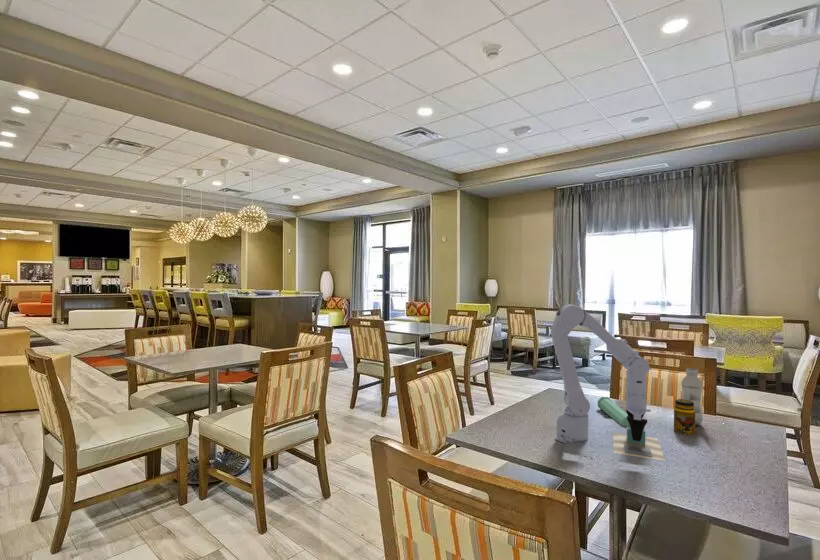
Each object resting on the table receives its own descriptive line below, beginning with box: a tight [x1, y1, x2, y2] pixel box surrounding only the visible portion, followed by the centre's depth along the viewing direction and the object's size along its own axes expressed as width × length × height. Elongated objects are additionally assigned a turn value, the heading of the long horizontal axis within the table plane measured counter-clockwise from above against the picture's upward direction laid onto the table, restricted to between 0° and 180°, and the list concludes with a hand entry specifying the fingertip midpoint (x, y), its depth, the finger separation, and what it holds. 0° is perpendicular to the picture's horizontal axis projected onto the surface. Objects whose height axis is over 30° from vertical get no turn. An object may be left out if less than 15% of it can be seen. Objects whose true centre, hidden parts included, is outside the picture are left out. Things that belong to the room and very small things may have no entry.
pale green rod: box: [597, 396, 630, 427], centre depth 161 cm, size 6×6×25 cm
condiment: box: [673, 398, 696, 436], centre depth 145 cm, size 7×8×12 cm
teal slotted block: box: [626, 424, 646, 444], centre depth 136 cm, size 5×5×4 cm
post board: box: [612, 431, 666, 462], centre depth 132 cm, size 19×13×4 cm
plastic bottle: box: [681, 368, 704, 426], centre depth 157 cm, size 6×7×20 cm
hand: (635, 436), depth 136 cm, fingers open, 7 cm apart
